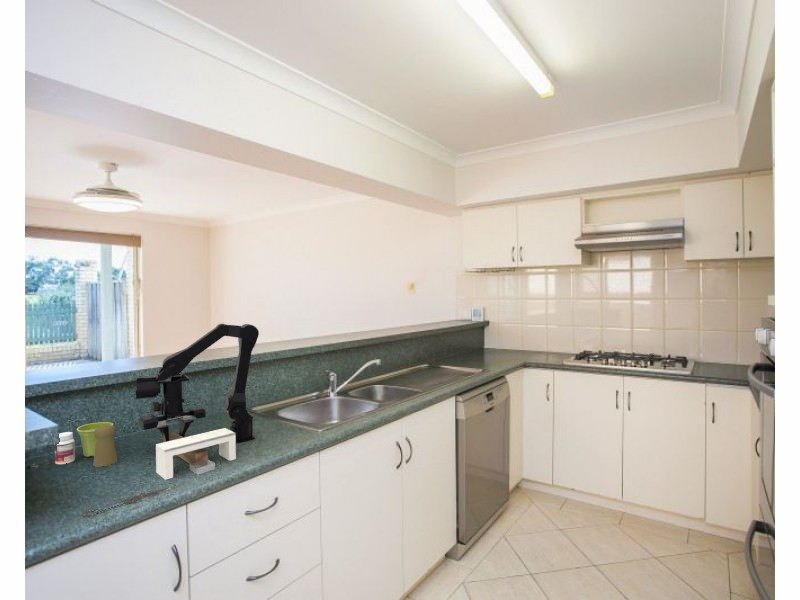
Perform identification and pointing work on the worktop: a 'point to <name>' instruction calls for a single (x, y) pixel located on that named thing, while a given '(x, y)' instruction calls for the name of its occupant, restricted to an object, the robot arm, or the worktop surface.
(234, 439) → the white bridge block
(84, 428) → the plant pot
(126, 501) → the throwing knife
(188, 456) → the walnut bar
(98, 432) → the cork
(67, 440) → the pill bottle
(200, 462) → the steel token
